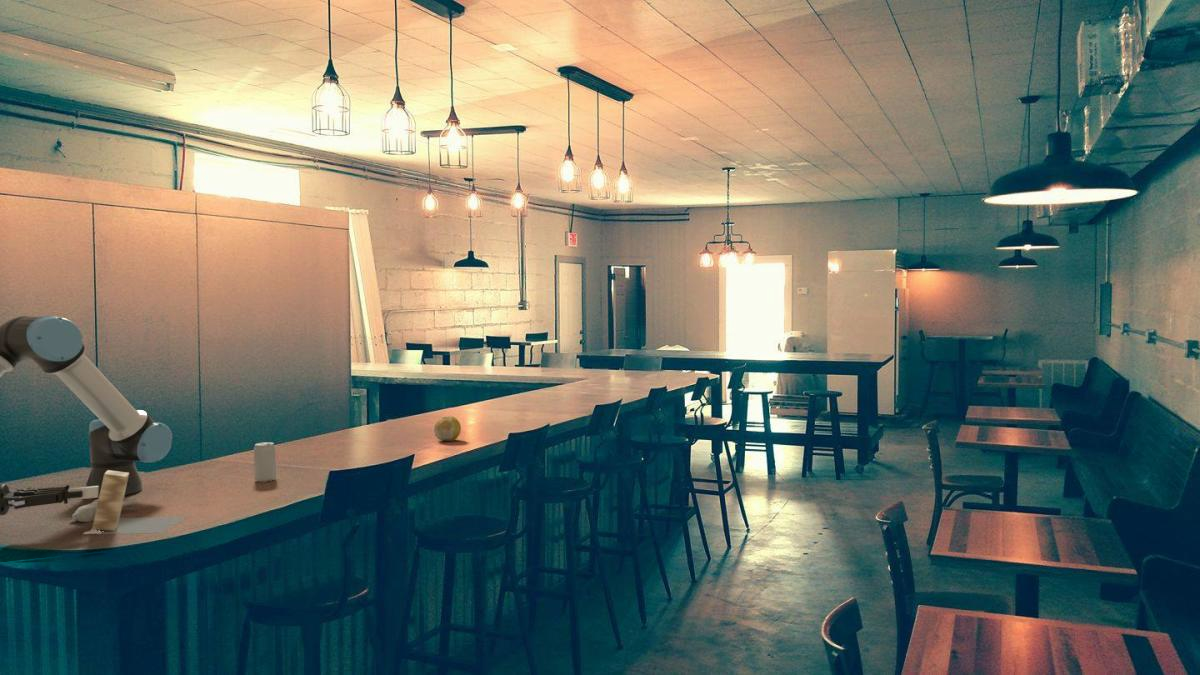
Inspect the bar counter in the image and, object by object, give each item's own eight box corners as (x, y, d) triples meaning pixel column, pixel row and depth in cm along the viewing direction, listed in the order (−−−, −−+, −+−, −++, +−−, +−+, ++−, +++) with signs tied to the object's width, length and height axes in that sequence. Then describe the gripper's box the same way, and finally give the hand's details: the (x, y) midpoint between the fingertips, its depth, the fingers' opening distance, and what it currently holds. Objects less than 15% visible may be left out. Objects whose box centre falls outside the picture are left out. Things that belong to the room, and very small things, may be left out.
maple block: (91, 528, 211) (103, 473, 212) (95, 523, 216) (107, 470, 216) (114, 531, 213) (126, 476, 214) (117, 525, 218) (129, 472, 218)
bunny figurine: (64, 507, 223) (117, 489, 237) (67, 526, 224) (120, 506, 238) (86, 511, 219) (139, 492, 233) (89, 530, 220) (142, 509, 233)
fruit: (438, 438, 345) (438, 414, 344) (464, 439, 343) (463, 414, 343) (430, 443, 335) (429, 418, 334) (456, 443, 333) (456, 418, 333)
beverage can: (268, 483, 267) (267, 445, 267) (250, 482, 269) (249, 445, 268) (280, 478, 274) (279, 442, 273) (262, 477, 275) (261, 441, 274)
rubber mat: (79, 535, 211) (79, 534, 211) (112, 519, 226) (112, 518, 226) (160, 534, 211) (160, 532, 211) (188, 518, 226) (188, 516, 226)
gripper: (-4, 509, 211) (104, 500, 220) (-21, 523, 199) (94, 512, 207) (-6, 480, 211) (102, 471, 219) (-23, 491, 199) (92, 482, 207)
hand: (98, 491), depth 213 cm, fingers closed
